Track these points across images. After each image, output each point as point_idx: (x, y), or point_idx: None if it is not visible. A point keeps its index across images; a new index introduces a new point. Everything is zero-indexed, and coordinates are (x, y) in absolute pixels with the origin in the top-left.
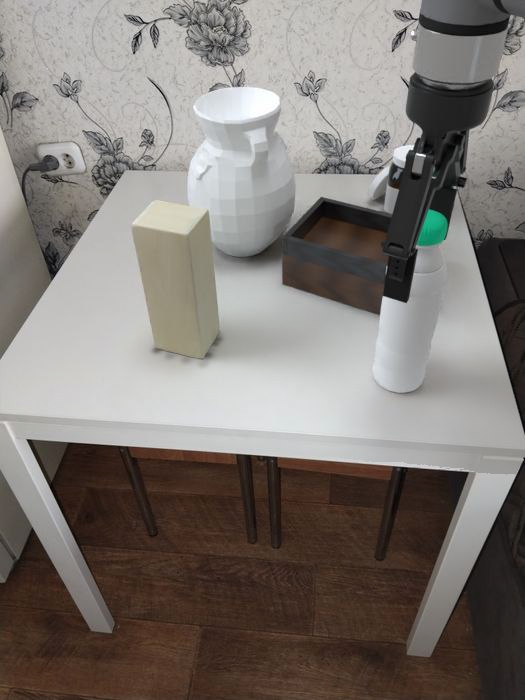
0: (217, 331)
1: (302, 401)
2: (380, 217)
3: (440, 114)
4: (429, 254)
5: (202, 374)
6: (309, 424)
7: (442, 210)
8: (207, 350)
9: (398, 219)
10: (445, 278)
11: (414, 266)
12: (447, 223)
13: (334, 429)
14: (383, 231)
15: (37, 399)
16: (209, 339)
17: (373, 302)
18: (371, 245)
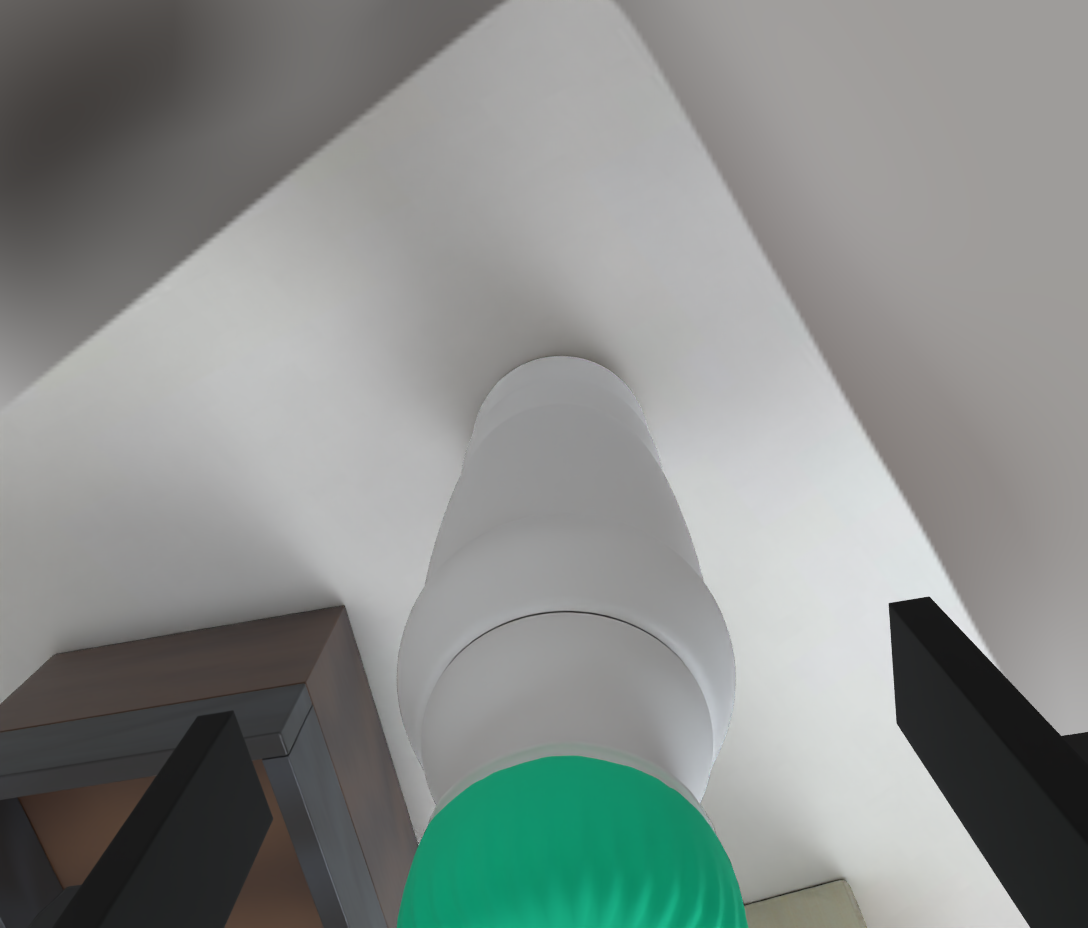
0: None
1: (825, 595)
2: (16, 921)
3: None
4: (637, 732)
5: (891, 845)
6: (892, 531)
7: (162, 913)
8: (815, 891)
9: None
10: (545, 539)
11: (1036, 763)
12: (183, 797)
13: (869, 466)
14: (45, 857)
15: None
16: (803, 918)
17: (346, 672)
18: None
